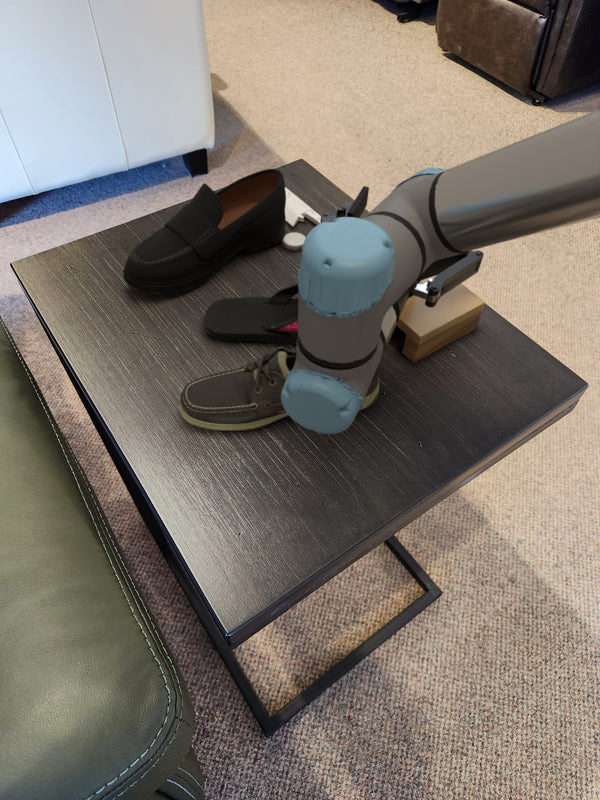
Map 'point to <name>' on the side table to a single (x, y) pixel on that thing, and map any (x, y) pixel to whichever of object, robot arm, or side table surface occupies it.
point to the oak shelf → (438, 320)
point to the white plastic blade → (298, 210)
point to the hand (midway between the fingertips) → (415, 207)
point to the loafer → (210, 234)
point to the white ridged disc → (293, 240)
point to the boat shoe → (247, 394)
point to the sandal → (255, 318)
